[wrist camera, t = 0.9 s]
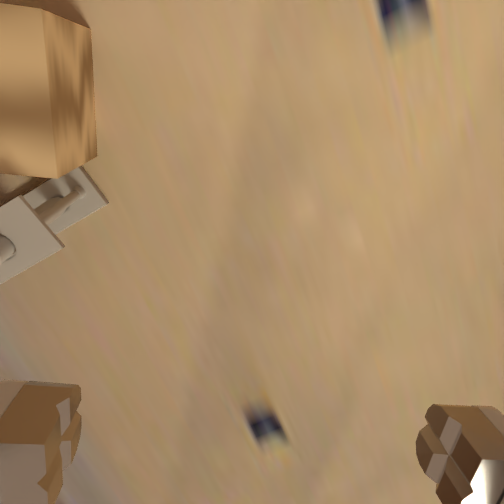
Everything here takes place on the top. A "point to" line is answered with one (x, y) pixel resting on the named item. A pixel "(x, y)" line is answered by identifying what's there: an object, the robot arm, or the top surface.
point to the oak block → (45, 93)
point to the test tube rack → (44, 219)
